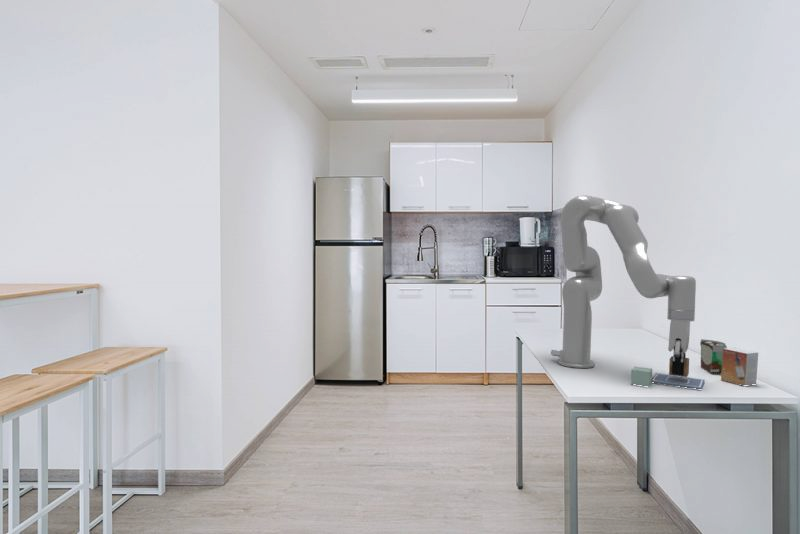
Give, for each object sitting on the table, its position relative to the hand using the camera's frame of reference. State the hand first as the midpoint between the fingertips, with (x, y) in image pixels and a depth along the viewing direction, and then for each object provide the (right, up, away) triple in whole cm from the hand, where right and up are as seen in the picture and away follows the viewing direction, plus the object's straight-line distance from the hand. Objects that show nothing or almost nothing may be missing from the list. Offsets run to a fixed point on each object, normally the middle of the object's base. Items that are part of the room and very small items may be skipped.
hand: (678, 372), depth 167 cm
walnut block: (0, -1, 0) cm, 1 cm away
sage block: (-13, -3, -3) cm, 14 cm away
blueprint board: (0, -3, 0) cm, 3 cm away
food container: (+21, -3, +16) cm, 27 cm away
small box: (+20, -4, +1) cm, 20 cm away
